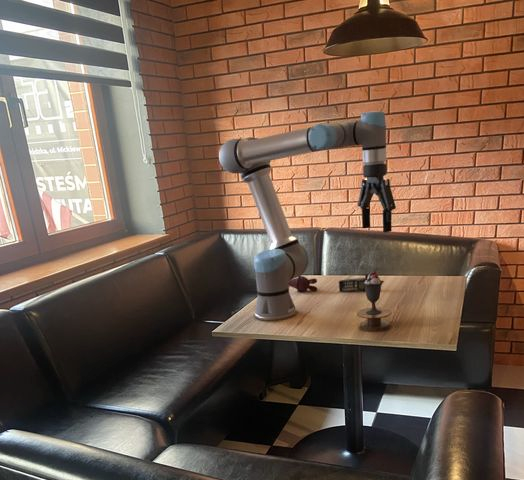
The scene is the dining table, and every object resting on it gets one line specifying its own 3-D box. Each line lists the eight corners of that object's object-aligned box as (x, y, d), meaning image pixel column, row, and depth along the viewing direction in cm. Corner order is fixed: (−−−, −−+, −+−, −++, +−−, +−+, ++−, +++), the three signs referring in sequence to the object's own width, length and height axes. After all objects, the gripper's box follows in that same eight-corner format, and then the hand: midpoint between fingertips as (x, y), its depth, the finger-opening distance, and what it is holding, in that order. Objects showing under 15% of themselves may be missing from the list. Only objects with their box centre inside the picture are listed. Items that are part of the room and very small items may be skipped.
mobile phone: (338, 281, 218) (376, 277, 215) (338, 279, 221) (375, 276, 217) (339, 292, 220) (376, 289, 216) (339, 291, 222) (376, 287, 219)
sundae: (384, 315, 169) (383, 268, 164) (363, 316, 171) (361, 269, 166) (384, 309, 175) (383, 263, 170) (363, 309, 177) (361, 265, 172)
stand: (351, 325, 178) (350, 311, 177) (380, 319, 181) (379, 305, 180) (367, 334, 169) (367, 319, 167) (398, 328, 172) (398, 313, 170)
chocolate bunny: (280, 279, 224) (314, 282, 219) (285, 271, 230) (319, 273, 225) (281, 293, 228) (315, 296, 223) (286, 285, 234) (319, 287, 229)
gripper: (406, 161, 163) (407, 231, 170) (365, 162, 185) (367, 224, 192) (384, 164, 161) (386, 235, 168) (346, 165, 183) (349, 227, 190)
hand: (376, 229), depth 180 cm, fingers open, 13 cm apart
